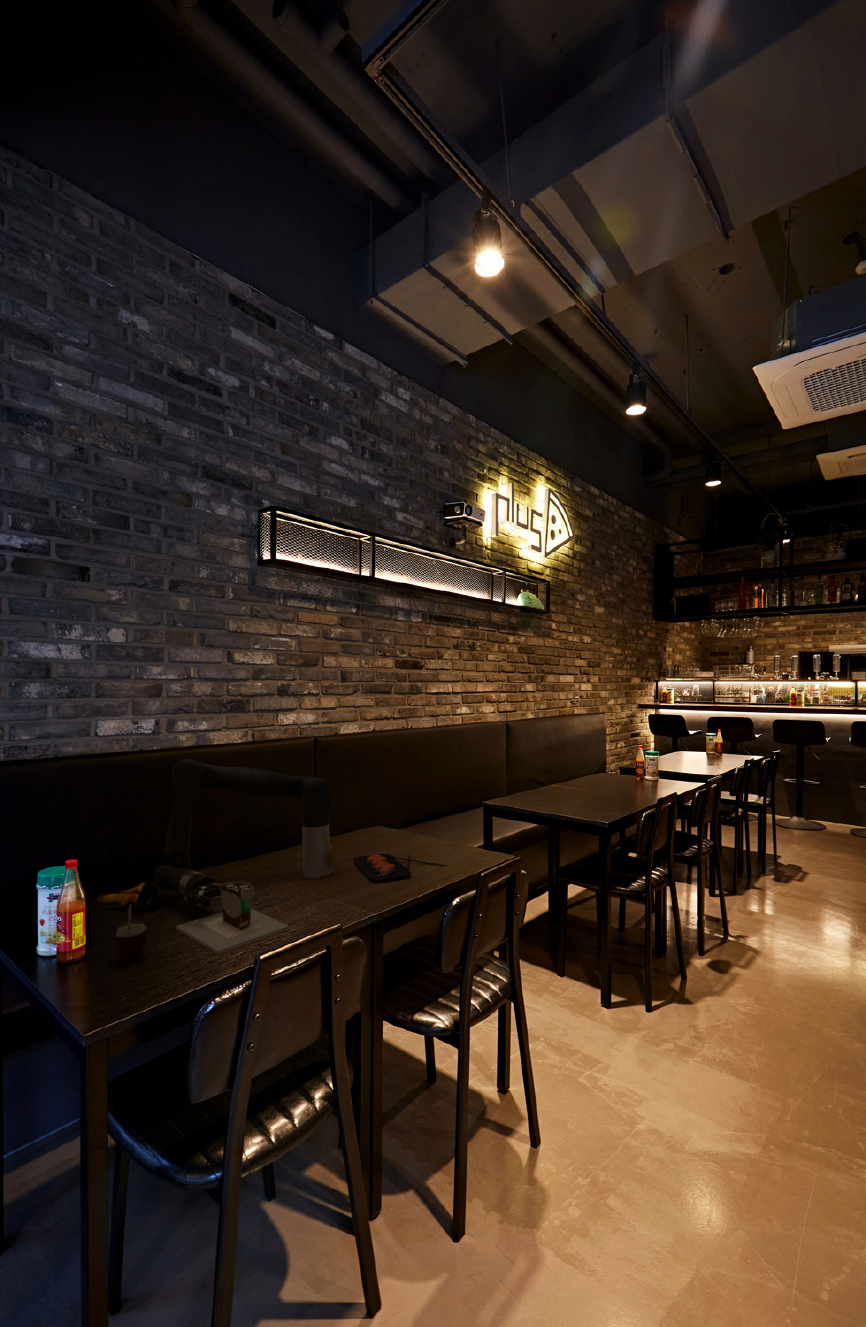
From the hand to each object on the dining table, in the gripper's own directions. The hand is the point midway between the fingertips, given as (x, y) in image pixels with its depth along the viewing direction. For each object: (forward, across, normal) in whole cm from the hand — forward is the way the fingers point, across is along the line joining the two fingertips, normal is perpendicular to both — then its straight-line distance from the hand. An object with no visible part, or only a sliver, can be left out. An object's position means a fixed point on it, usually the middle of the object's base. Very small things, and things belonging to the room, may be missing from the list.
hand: (223, 898), depth 167 cm
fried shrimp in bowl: (-34, -12, +8) cm, 37 cm away
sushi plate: (-1, +68, +8) cm, 68 cm away
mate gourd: (+2, -25, +8) cm, 26 cm away
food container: (+5, +3, +6) cm, 8 cm away
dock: (+4, 0, +7) cm, 9 cm away
